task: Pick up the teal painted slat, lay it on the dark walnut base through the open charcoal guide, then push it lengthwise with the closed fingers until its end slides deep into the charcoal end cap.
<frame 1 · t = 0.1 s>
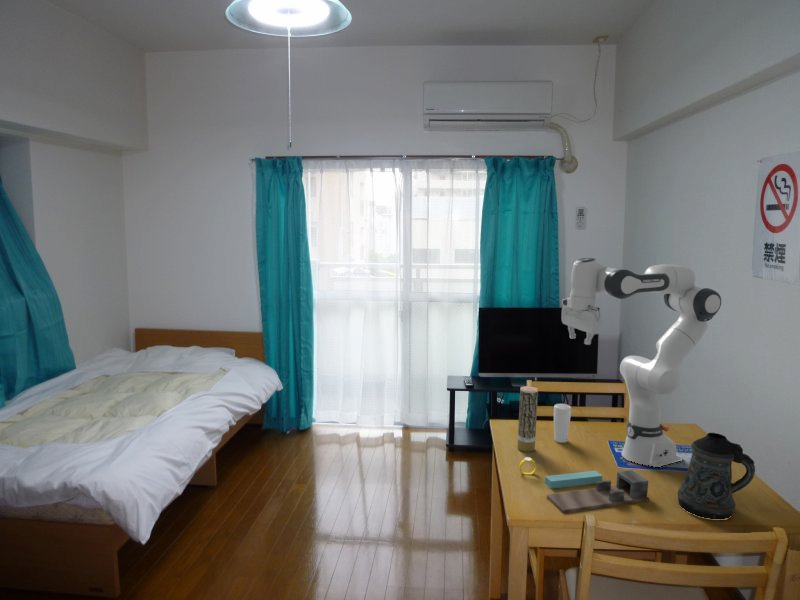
hand: (579, 341, 203), 48 cm above the table, tool pointing down, fingers open, 8 cm apart
slat: (573, 483, 198), on the table
watch: (527, 474, 204), on the table
brown bark cylinder: (525, 449, 226), on the table
beer stein: (709, 509, 182), on the table
end-cap base: (597, 499, 187), on the table
drinking glass: (560, 441, 234), on the table
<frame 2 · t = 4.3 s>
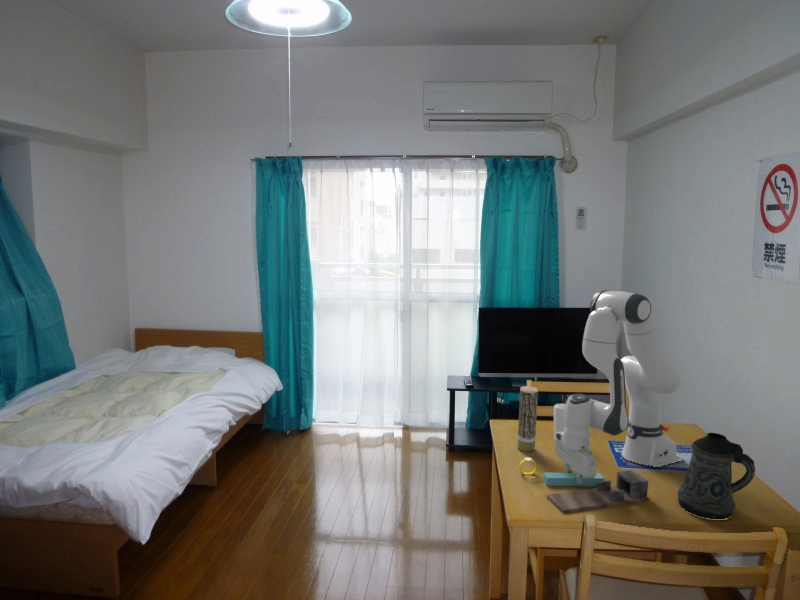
hand: (573, 478, 197), 2 cm above the table, tool pointing down, fingers closed on slat, 5 cm apart
slat: (573, 483, 198), on the table, touching gripper
everything else where it was.
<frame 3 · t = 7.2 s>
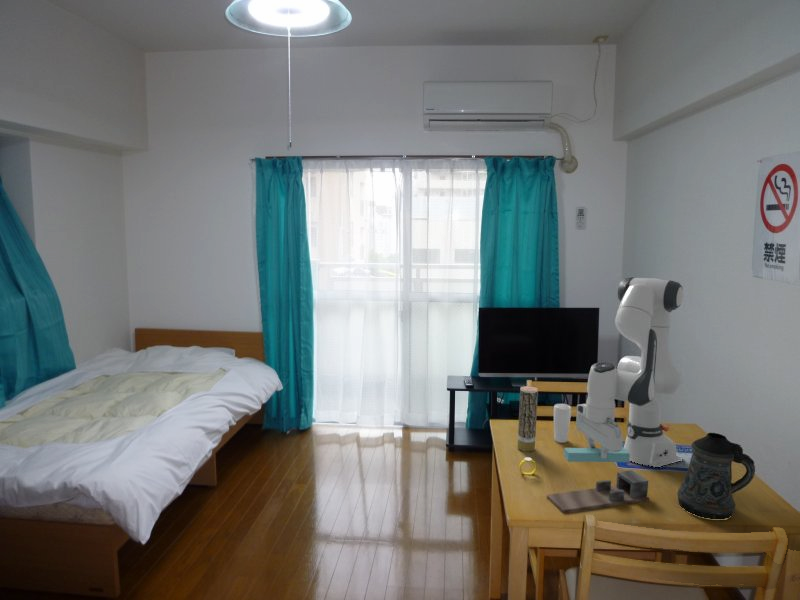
hand: (597, 453, 184), 16 cm above the table, tool pointing down, fingers closed on slat, 5 cm apart
slat: (596, 459, 184), point 14 cm above the table, touching gripper
everything else where it was.
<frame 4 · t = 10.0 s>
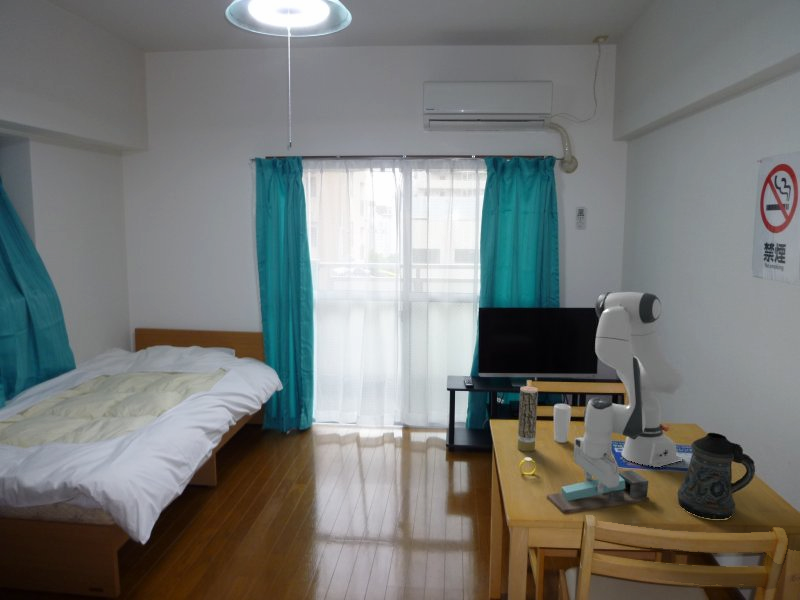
hand: (594, 487, 186), 4 cm above the table, tool pointing down, fingers closed on slat, 4 cm apart
slat: (593, 491, 186), point 3 cm above the table, tilted 10°, touching end-cap base, gripper
everything else where it was.
when the fingers open (4 cm above the table, at t = 10.1 s): slat drops 2 cm, resting on end-cap base.
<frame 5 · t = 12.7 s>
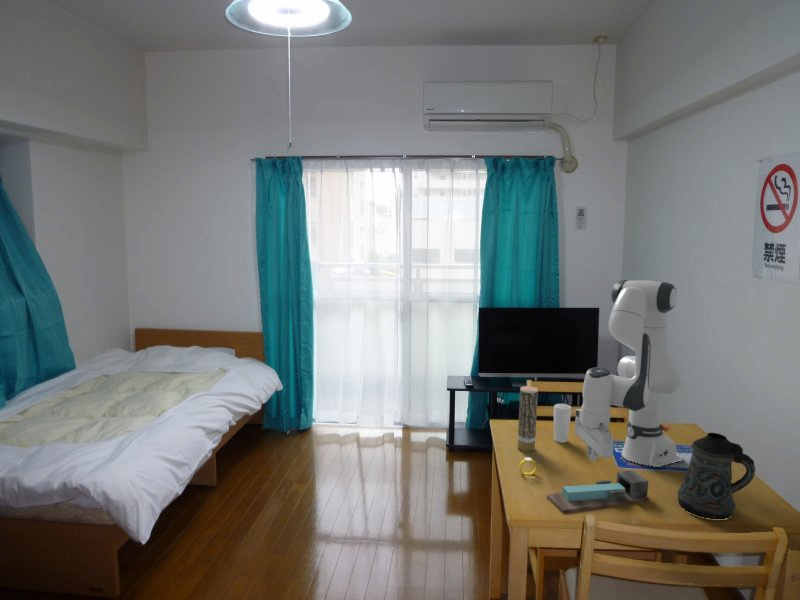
hand: (591, 459, 183), 15 cm above the table, tool pointing down, fingers closed
slat: (593, 496, 186), point 1 cm above the table, touching end-cap base
everything else where it was.
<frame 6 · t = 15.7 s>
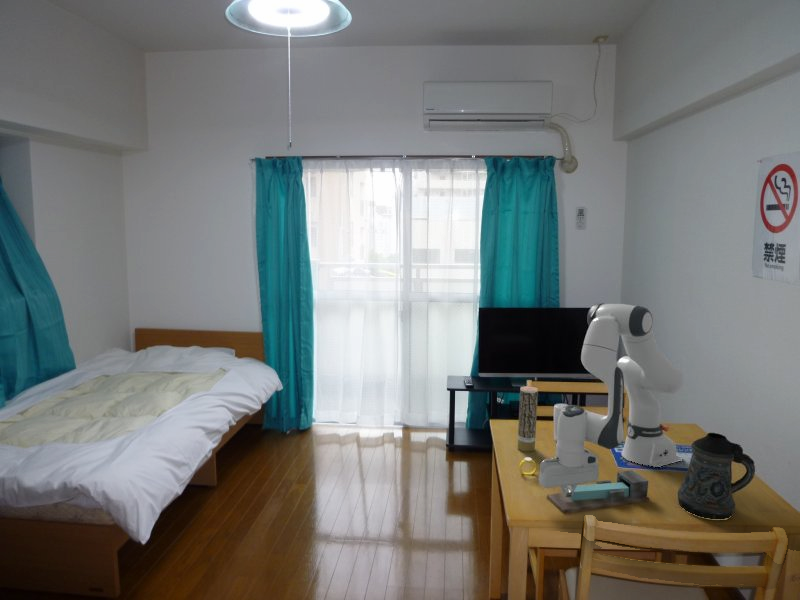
hand: (567, 496, 183), 2 cm above the table, tool pointing down, fingers closed
slat: (597, 495, 187), point 1 cm above the table, touching end-cap base, gripper
everything else where it was.
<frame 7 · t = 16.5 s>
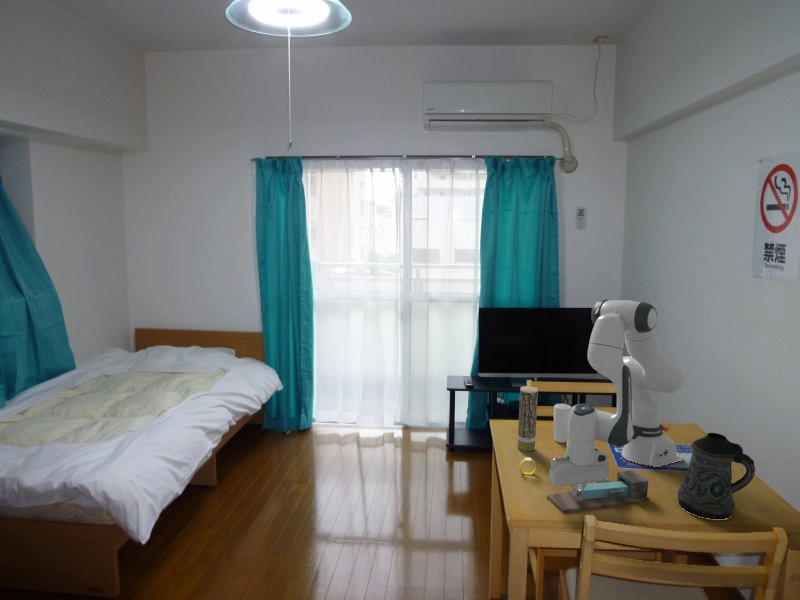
hand: (577, 494, 184), 3 cm above the table, tool pointing down, fingers closed
slat: (606, 493, 188), point 1 cm above the table, touching end-cap base, gripper
everything else where it was.
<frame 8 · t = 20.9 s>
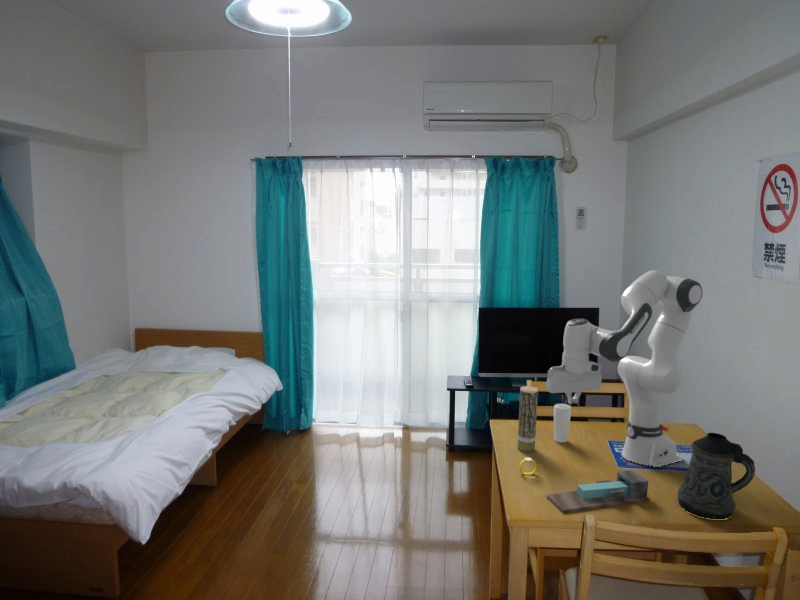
hand: (572, 402, 199), 27 cm above the table, tool pointing down, fingers closed
slat: (607, 493, 188), point 1 cm above the table, touching end-cap base
everything else where it was.
at the end: slat 0.8 cm from the target spot, point 1.0 cm above the table; slat tilted 0°; the gripper is holding nothing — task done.
